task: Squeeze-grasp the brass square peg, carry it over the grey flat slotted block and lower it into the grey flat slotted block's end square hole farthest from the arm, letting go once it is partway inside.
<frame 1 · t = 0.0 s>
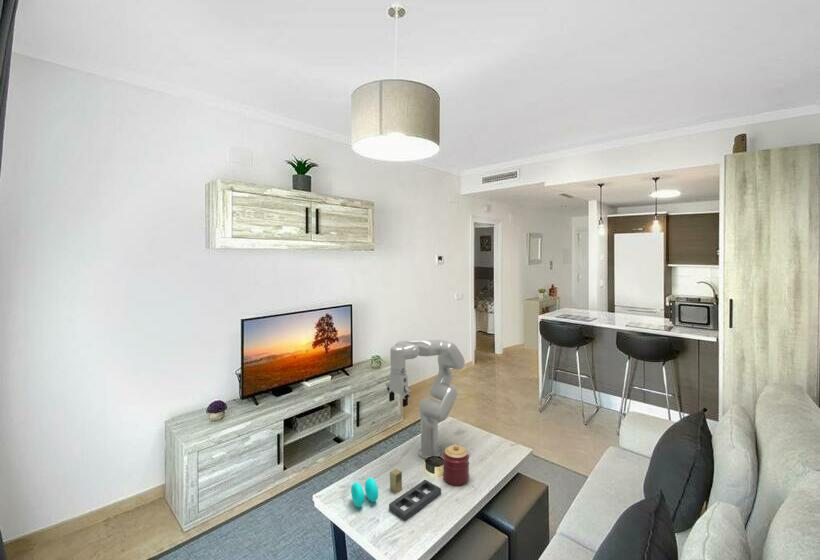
hand: (398, 403, 189), 37 cm above the table, fingers open, 9 cm apart
brass peg: (396, 489, 178), on the table
canister: (456, 478, 186), on the table
donuts: (364, 502, 169), on the table
grey flat slotted block: (415, 502, 169), on the table
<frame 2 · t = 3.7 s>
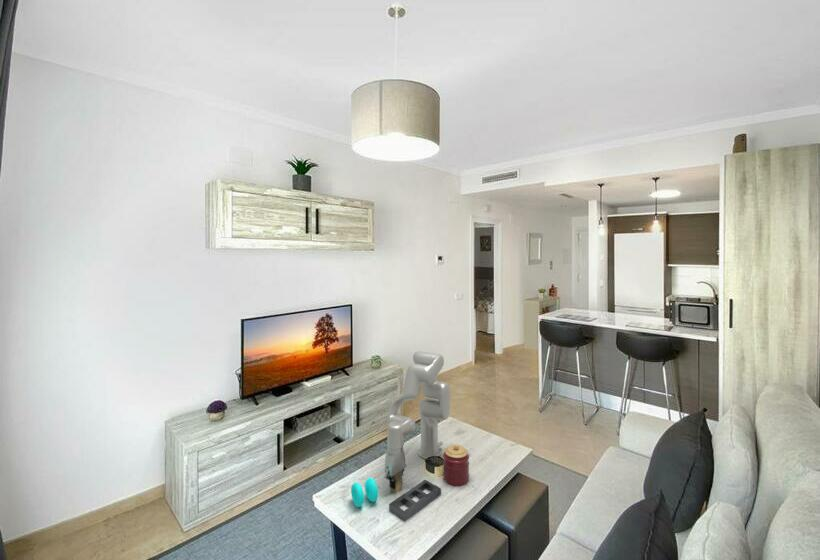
hand: (395, 485, 177), 2 cm above the table, fingers closed on brass peg, 4 cm apart
brass peg: (396, 489, 178), on the table, touching gripper
everything else where it was.
when the fingers open (4 cm above the table, at t = 9.2 s): brass peg drops 2 cm, resting in grey flat slotted block.
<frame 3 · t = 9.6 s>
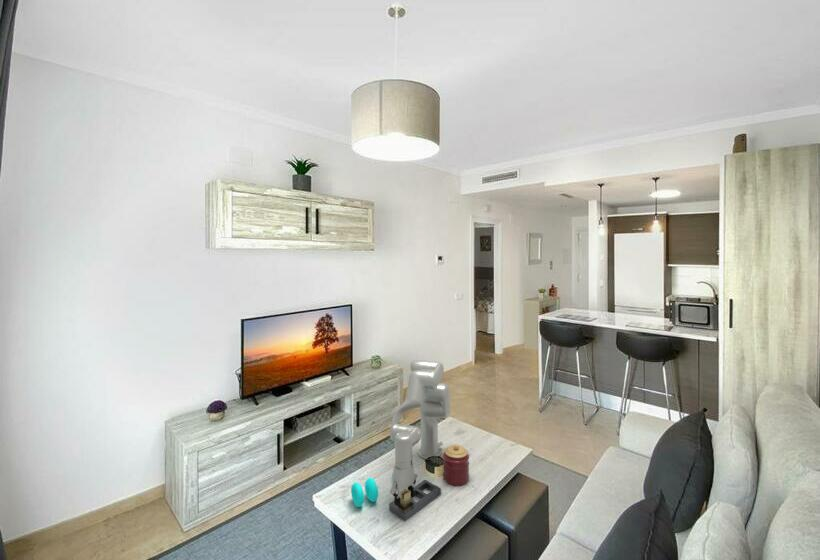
hand: (404, 499, 163), 5 cm above the table, fingers open, 7 cm apart
brass peg: (404, 510, 163), resting in grey flat slotted block
everything else where it was.
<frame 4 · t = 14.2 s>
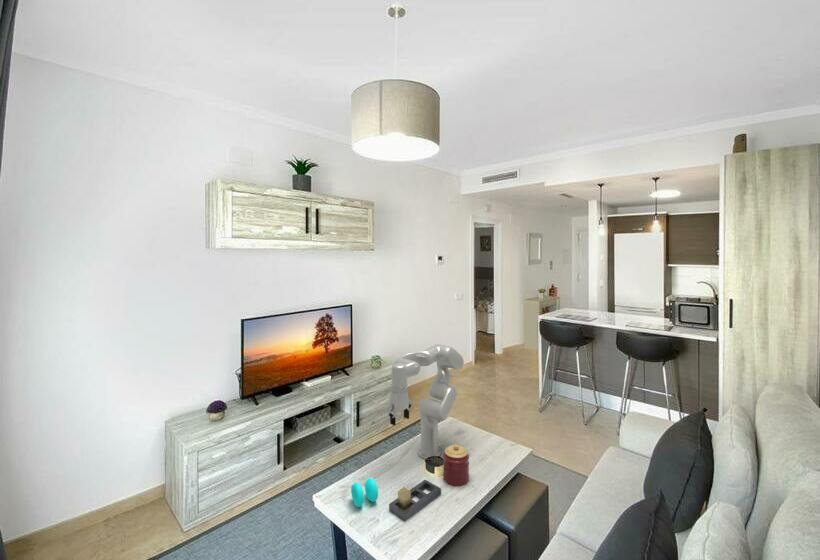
hand: (399, 421, 188), 28 cm above the table, fingers open, 9 cm apart
nothing on the table moved.
at the end: brass peg 0.1 cm from the target spot on the grey flat slotted block, point 0.0 cm above the grey flat slotted block's base; brass peg tilted 0°; the gripper is holding nothing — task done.
